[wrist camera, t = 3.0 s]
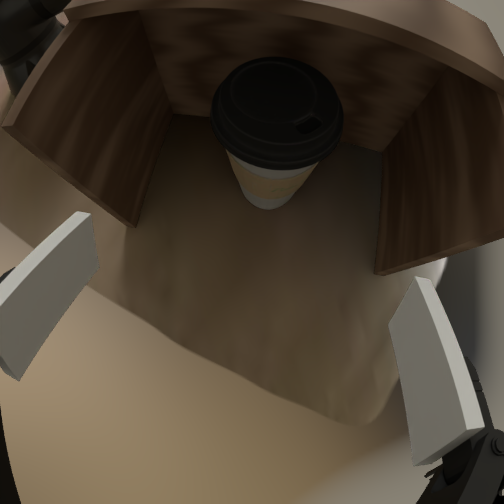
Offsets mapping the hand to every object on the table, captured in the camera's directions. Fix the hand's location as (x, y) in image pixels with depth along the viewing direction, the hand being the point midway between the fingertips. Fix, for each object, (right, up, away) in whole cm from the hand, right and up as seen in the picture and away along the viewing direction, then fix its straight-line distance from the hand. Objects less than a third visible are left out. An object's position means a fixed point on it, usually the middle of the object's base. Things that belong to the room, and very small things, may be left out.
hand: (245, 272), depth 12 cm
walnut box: (+2, +8, +21) cm, 23 cm away
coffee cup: (+2, +8, +21) cm, 23 cm away
